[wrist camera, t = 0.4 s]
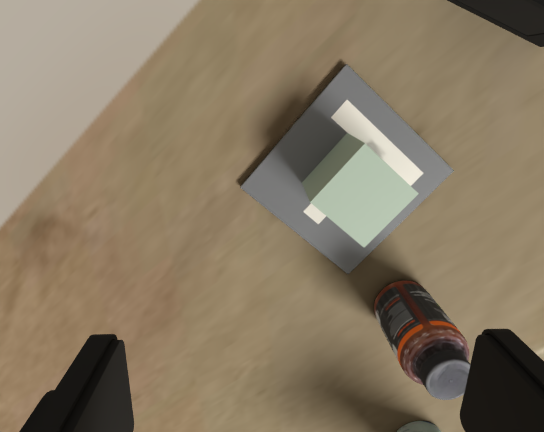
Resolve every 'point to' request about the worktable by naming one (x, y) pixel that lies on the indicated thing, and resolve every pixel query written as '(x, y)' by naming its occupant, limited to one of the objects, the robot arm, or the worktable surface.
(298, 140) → the board
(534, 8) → the digital camera
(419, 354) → the supplement bottle
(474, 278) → the worktable surface
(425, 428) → the spray paint can
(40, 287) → the worktable surface
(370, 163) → the sage block
